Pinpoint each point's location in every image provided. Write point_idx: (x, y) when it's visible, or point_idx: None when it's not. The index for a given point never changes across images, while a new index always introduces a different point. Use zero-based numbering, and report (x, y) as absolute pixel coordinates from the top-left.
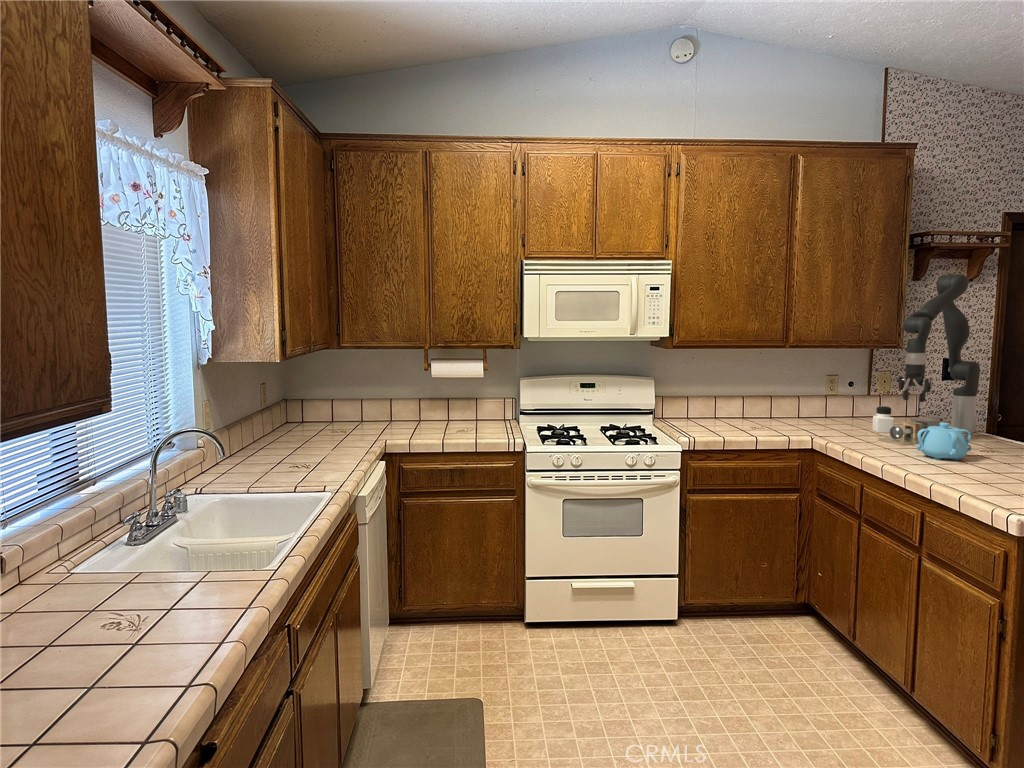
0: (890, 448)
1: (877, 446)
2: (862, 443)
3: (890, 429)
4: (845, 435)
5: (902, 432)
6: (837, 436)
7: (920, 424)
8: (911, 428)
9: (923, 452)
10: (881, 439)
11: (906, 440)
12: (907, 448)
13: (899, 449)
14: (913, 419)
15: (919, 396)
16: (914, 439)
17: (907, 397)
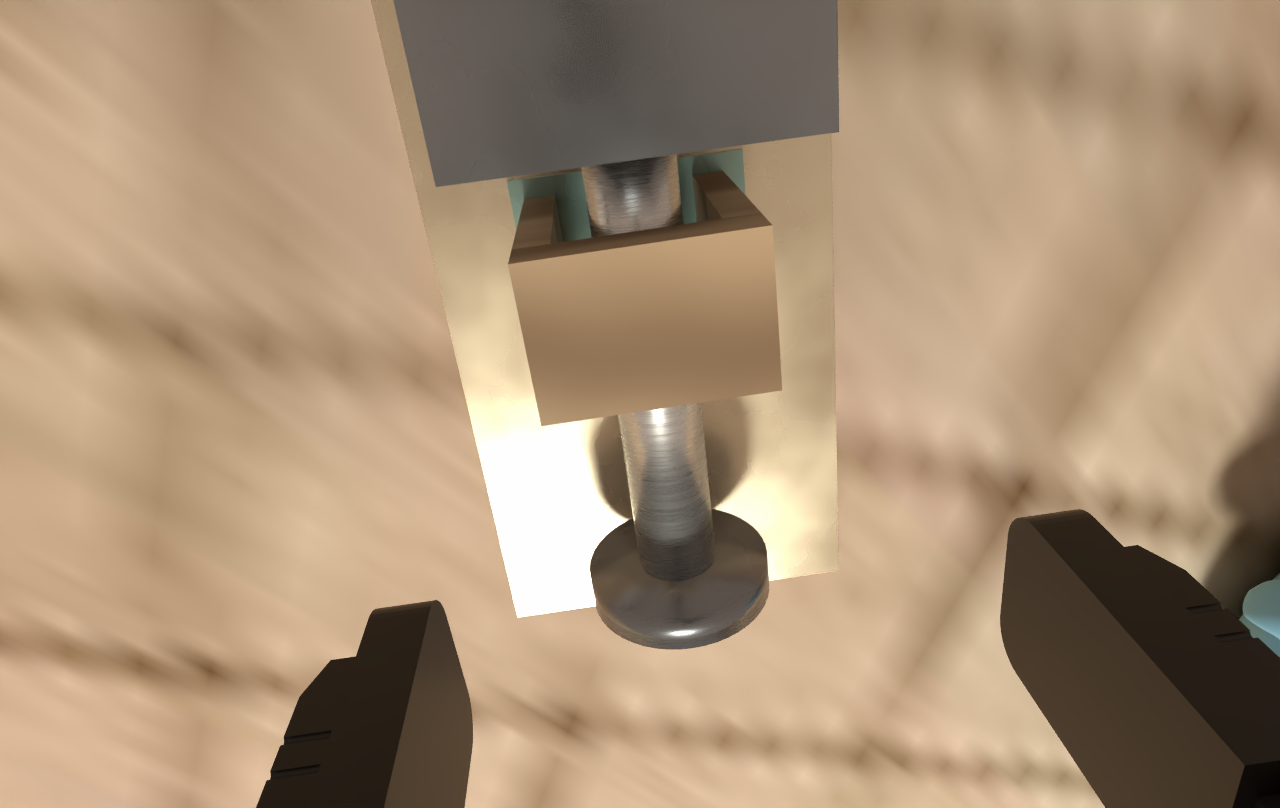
0: (882, 728)
1: (765, 764)
2: (601, 789)
3: (607, 620)
4: (141, 696)
5: (766, 563)
6: (196, 787)
7: (772, 257)
8: None
9: None
10: (560, 603)
11: (756, 451)
12: (954, 608)
13: (950, 693)
14: (501, 175)
15: (1109, 804)
16: None
17: (438, 701)
